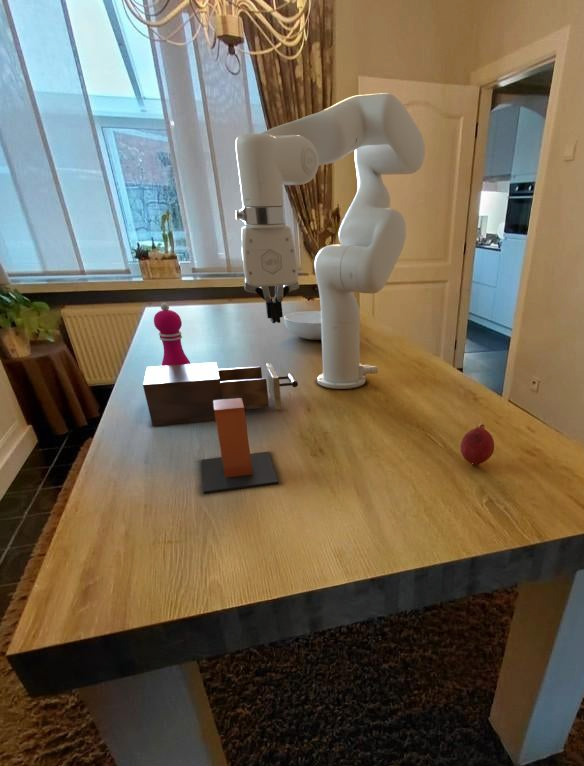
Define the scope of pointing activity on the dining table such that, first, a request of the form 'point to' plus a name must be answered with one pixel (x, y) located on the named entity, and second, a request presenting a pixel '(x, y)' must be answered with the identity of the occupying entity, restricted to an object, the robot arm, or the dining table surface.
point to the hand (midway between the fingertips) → (275, 321)
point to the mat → (218, 482)
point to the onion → (477, 445)
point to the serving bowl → (305, 324)
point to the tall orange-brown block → (233, 437)
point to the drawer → (253, 385)
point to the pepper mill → (170, 336)
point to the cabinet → (182, 393)
